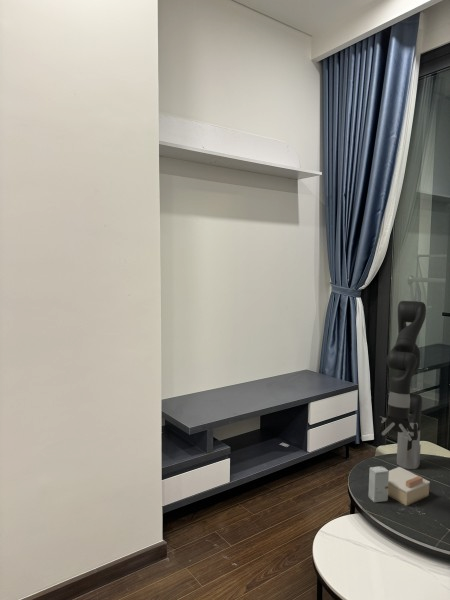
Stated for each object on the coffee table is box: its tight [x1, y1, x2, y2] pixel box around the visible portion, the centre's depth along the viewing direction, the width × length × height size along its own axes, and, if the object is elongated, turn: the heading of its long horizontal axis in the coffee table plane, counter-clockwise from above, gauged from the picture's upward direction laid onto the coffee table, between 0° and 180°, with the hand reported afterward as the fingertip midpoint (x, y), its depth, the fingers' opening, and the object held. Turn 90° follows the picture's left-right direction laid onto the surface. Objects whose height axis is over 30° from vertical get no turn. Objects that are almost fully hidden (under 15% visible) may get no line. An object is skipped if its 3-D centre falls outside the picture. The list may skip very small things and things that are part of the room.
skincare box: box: [368, 466, 390, 503], centre depth 165 cm, size 6×4×12 cm
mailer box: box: [388, 483, 430, 507], centre depth 170 cm, size 14×14×5 cm
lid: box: [388, 466, 431, 493], centre depth 169 cm, size 14×14×3 cm
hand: (396, 447), depth 160 cm, fingers open, 8 cm apart
